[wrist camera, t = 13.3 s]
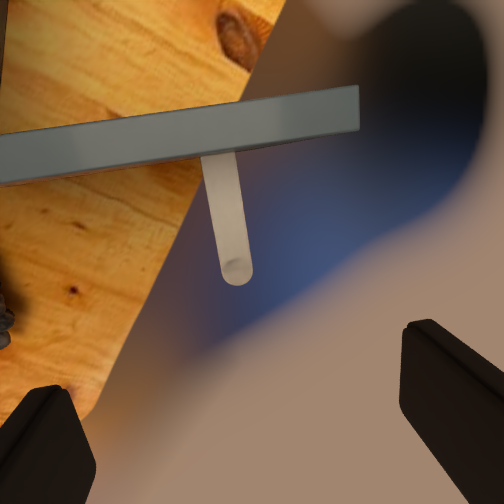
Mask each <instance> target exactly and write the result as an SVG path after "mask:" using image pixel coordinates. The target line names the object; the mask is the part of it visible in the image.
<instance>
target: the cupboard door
mask: <svg viewBox="0 0 504 504" xmlns="http://www.w3.org/2000/svg"><path fill="white" fill-rule="evenodd" d="M359 129H360V114H359V86H358V85H351V86H344V87H337V88H330V89H322V90H315V91H308V92H301V93H294V94H287V95H280V96H273V97H265V98H258V99H252V100H244V101H237V102H230V103H223V104H215V105H208V106H201V107H194V108H187V109H180V110H173V111H166V112H158V113H151V114H144V115H137V116H130V117H123V118H116V119H109V120H101V121H94V122H87V123H80V124H73V125H66V126H59V127H52V128H44V129H37V130H30V131H23V132H16V133H9V134H2V135H0V187H7V186H14V185H20V184H27V183H34V182H40V181H47V180H54V179H60V178H67V177H74V176H80V175H87V174H94V173H100V172H107V171H114V170H120V169H127V168H134V167H140V166H147V165H153V164H160V163H167V162H173V161H180V160H187V159H193V158H200V160H201V166H202V171H203V176H204V182H205V187H206V192H207V197H208V203H209V208H210V213H211V219H212V224H213V229H214V234H215V239H216V245H217V250H218V255H219V261H220V266H221V271H222V275H223V278H224V280H225V281H226V282H227V283H229V284H231V285H235V286H239V285H243V284H245V283H247V282H248V281H249V280H250V278H251V277H252V274H253V267H252V261H251V254H250V247H249V241H248V234H247V228H246V221H245V215H244V208H243V202H242V195H241V188H240V182H239V176H238V169H237V162H236V157H235V152H240V151H246V150H252V149H258V148H264V147H270V146H275V145H281V144H286V143H292V142H297V141H303V140H309V139H314V138H319V137H325V136H331V135H336V134H342V133H347V132H352V131H358V130H359Z"/></svg>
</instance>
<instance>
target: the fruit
mask: <svg viewBox="0 0 504 504" xmlns="http://www.w3.org/2000/svg"><path fill="white" fill-rule="evenodd" d="M0 287H1V282H0ZM4 301H5V299H4V296H3V295H2V294H1V293H0V350H1V349H3V348H5V347H7V346H8V345H9V344H10V343H11V338H10V334H9V333H8V330H9V329H10V328H11V327H13V325H14V322H15V318H14V313H13V311H11V310H10V309H8V308H6V306H5V304H4Z"/></svg>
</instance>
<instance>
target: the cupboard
mask: <svg viewBox="0 0 504 504" xmlns="http://www.w3.org/2000/svg"><path fill="white" fill-rule="evenodd" d="M7 5H8V0H0V82H1V71H2V60H3V49H4V38H5V27H6V16H7Z"/></svg>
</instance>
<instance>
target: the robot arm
mask: <svg viewBox="0 0 504 504" xmlns="http://www.w3.org/2000/svg"><path fill="white" fill-rule="evenodd" d="M399 404H400V408H401V410H402V412H403V414H404V416H405V417H406V419H407V420H408V421H409V423H410V424H411V425H412V427H413V428H414V429H415V431H416V432H417V434H418V435H419V436H420V438H421V439H422V440H423V442H424V443H425V444H426V446H427V447H428V448H429V450H430V451H431V452H432V454H433V455H434V457H435V458H436V459H437V461H438V462H439V463H440V465H441V466H442V467H443V469H444V470H445V471H446V473H447V474H448V476H449V477H450V478H451V480H452V481H453V482H454V484H455V485H456V486H457V488H458V489H459V490H460V492H461V493H462V494H463V496H464V497H465V499H466V500H467V501H468V503H469V504H504V372H502V371H501V370H499V369H498V368H497V367H496V366H494V365H493V364H492V363H490V362H489V361H488V360H486V359H485V358H484V357H482V356H481V355H480V354H478V353H477V352H476V351H474V350H473V349H471V348H470V347H469V346H467V345H466V344H465V343H463V342H462V341H460V340H459V339H458V338H457V337H455V336H454V335H452V334H451V333H450V332H449V331H447V330H446V329H445V328H443V327H442V326H440V325H439V324H438V323H436V322H435V321H434V320H432V319H424V320H419V321H413V322H410V323H408V325H407V328H405V329H404V330H403V333H402V352H401V373H400V393H399ZM95 474H96V462H95V459H94V457H93V454H92V451H91V449H90V446H89V443H88V441H87V438H86V436H85V433H84V431H83V428H82V425H81V423H80V420H79V418H78V415H77V412H76V410H75V407H74V405H73V402H72V400H71V397H70V394H69V392H68V391H67V390H66V389H62V388H61V386H59V385H50V386H45V387H39V388H34V389H32V390H30V391H29V392H28V393H27V394H26V396H25V397H24V398H23V400H22V401H21V402H20V403H19V405H18V406H17V407H16V408H15V410H14V411H13V412H12V414H11V415H10V416H9V417H8V419H7V420H6V421H5V422H4V424H3V425H2V426H1V428H0V504H85V502H86V500H87V497H88V494H89V492H90V489H91V486H92V483H93V481H94V478H95Z"/></svg>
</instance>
